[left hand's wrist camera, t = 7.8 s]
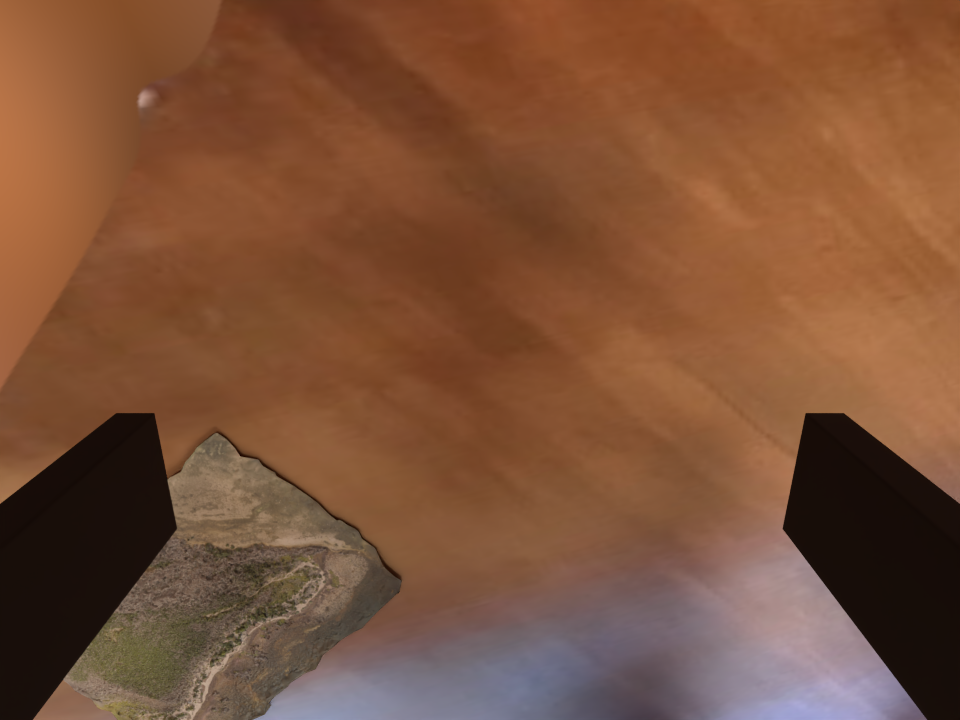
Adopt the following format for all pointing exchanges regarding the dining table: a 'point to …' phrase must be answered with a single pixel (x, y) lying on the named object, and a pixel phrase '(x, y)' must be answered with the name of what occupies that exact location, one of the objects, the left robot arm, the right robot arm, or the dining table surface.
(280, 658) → the slab
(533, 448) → the dining table surface
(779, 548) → the dining table surface
